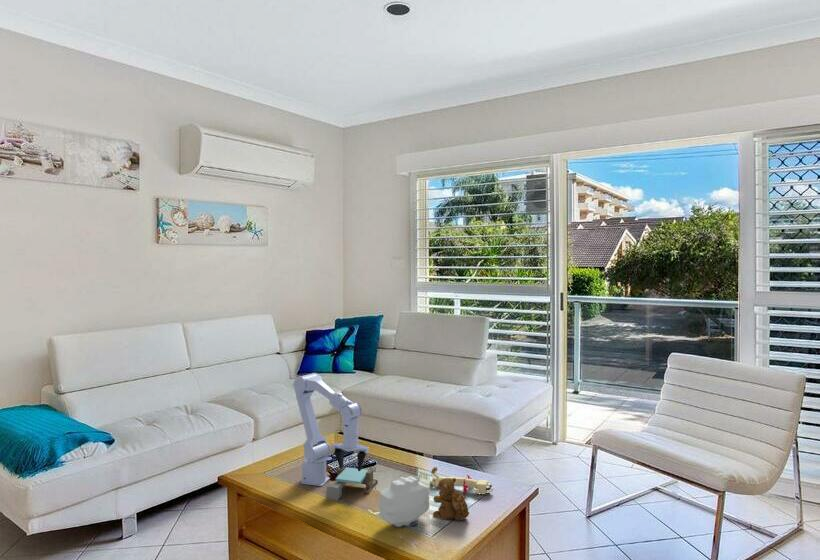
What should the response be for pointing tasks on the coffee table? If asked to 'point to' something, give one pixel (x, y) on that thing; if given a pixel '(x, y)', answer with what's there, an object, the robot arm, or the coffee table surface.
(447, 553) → the coffee table surface
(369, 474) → the trapdoor frame
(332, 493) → the stone
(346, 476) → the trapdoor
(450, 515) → the stuffed squirrel
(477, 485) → the cat figure
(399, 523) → the grey rounded lump
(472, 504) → the coffee table surface
